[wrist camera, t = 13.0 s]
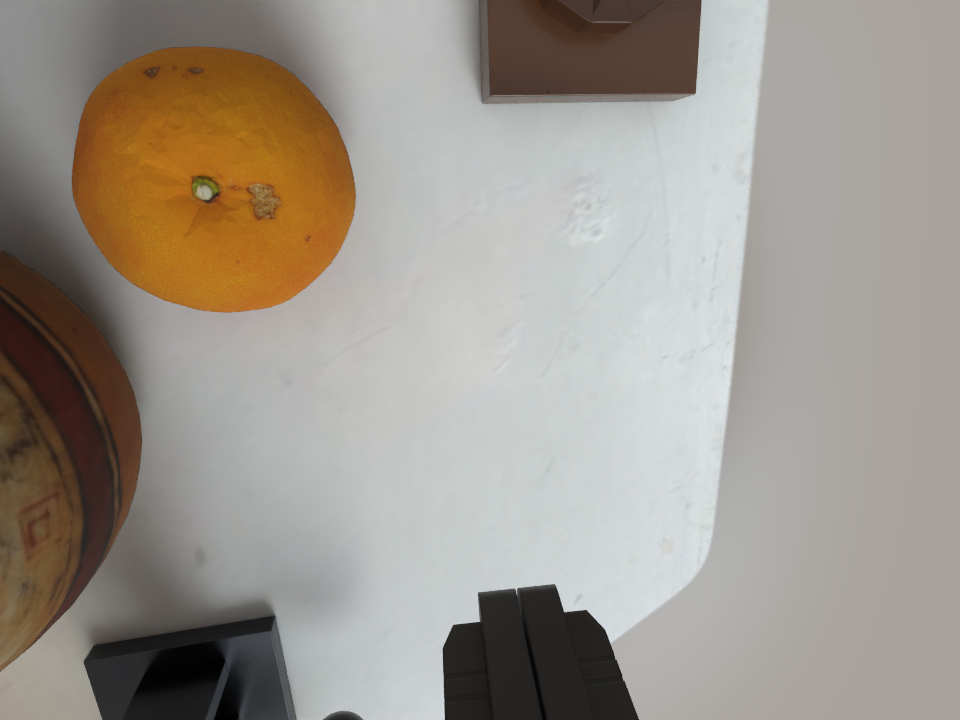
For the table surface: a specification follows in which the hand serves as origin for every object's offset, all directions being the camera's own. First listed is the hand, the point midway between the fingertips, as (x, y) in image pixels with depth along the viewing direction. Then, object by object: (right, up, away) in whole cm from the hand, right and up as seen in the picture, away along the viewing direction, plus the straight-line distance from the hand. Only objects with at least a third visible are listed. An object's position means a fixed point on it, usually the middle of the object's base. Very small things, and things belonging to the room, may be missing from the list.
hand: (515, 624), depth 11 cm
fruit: (-12, +13, +17) cm, 24 cm away
